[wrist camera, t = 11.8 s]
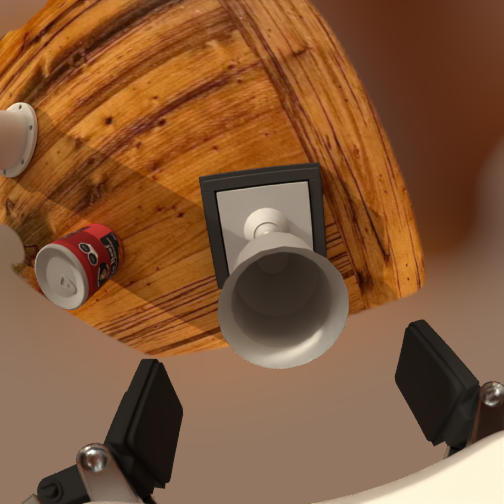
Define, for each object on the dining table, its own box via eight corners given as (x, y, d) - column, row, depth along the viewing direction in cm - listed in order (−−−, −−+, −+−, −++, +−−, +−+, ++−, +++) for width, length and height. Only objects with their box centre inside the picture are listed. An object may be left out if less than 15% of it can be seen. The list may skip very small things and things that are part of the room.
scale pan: (231, 272, 34) (230, 277, 32) (217, 191, 31) (216, 193, 29) (311, 262, 34) (314, 267, 32) (304, 180, 30) (307, 181, 29)
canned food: (123, 281, 36) (86, 320, 26) (78, 265, 35) (36, 296, 25) (129, 230, 34) (87, 257, 23) (82, 216, 33) (33, 237, 23)
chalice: (297, 259, 32) (341, 362, 15) (238, 263, 32) (225, 371, 15) (295, 196, 30) (354, 241, 12) (233, 199, 30) (208, 250, 13)
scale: (219, 283, 36) (216, 293, 33) (200, 176, 32) (195, 177, 29) (324, 270, 36) (330, 279, 33) (316, 162, 31) (322, 162, 29)
